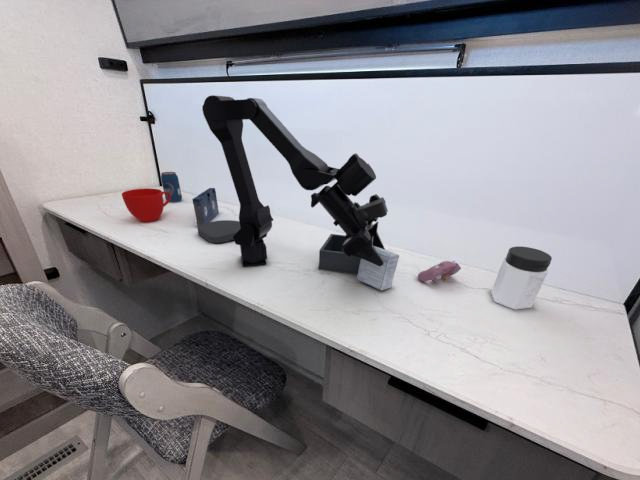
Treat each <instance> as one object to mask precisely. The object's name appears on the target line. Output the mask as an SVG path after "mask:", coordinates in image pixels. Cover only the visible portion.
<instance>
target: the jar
mask: <svg viewBox="0 0 640 480" xmlns="http://www.w3.org/2000/svg"><path fill="white" fill-rule="evenodd" d="M552 260H553V258H552V255H550V254H549V253H547V252H545V251H543V250H541V249H537V248H533V247H528V246H520V245H519V246H512V247H510V248H509V249H508V252H507V253H506V256H505V257H503V260H502V263H501V264H500V267H499V270H498V273H497V276H496V278H495V280H494V284H493V286H492V288H491V291H490V293H491V296H492V299H493V302H494V303H497V304H499V305H501V306H504V307H507V308H509V309H511V310H522V309H523V310H525V309H530V308H532V307H533V305H534V304H535V303H534V302H535V301H536V299H537V297H538V295H539V293H540V290H541V288H542V286H543V284H544V282H545V280H546V278H547V276H548V274H549V270H548V268H549V267H550V265H551V262H552Z"/></svg>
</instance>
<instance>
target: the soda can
mask: <svg viewBox="0 0 640 480" xmlns="http://www.w3.org/2000/svg"><path fill="white" fill-rule="evenodd" d="M160 174H161V175H160V180H161V185H162V189H163V191H167V192H168V193H169V194H170V201H169V203H179V202H182V199H183V194H182V191H181V185H180V181H179V176H178V175H177V173H176V171H164V172H163V171H162V172H161V173H160ZM163 195H164V198H165V200H166V201H167V198H168V195H167V193H164V194H163Z"/></svg>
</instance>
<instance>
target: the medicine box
mask: <svg viewBox="0 0 640 480" xmlns="http://www.w3.org/2000/svg"><path fill="white" fill-rule="evenodd" d="M374 248H375V250H376V251H377V253H378V254H379V256H380V258H381V259H382V261H383V263H384V264H383V265H382V266H378V265H375V264H373V263H371V262H368V261H366V260H364V259H361V261H360V266H359V270H358V275H357V274H356V280H358V281H360V282H362V283H364V284H367V285H369V286H371V287H373V288H375V289H377V290H380V291H384V290H387V289H390V288H392V284H393V281H394V278H395V274H396V270H397V267H398V263H399V259H400V254H398V253H395V252H393V251H390V250H388V249H386V248H385V249H382V248H379V247H376V246H374Z"/></svg>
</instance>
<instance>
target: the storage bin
mask: <svg viewBox="0 0 640 480" xmlns="http://www.w3.org/2000/svg"><path fill="white" fill-rule="evenodd" d="M345 235H346V234H344V235H343V234H336V233H330V235H329V236H328V237H327V239H326V240H325V242H324V243H323V245H322V246H321V248H320V249H319V251H318V252H319V253H318V254H319V255H318V270H323V271H328V272H329V271H330V272H336V273H337V272H338V273H345V274H351V275H356V276H357V275H358V270H359V266H360V261H361V258H358V257H356V256H350V257H348V258H347V256H346V255H345V254H344V253H343V252H342V246H343V244H344V242H345V241H346V240H347V239H346V238H345Z"/></svg>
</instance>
